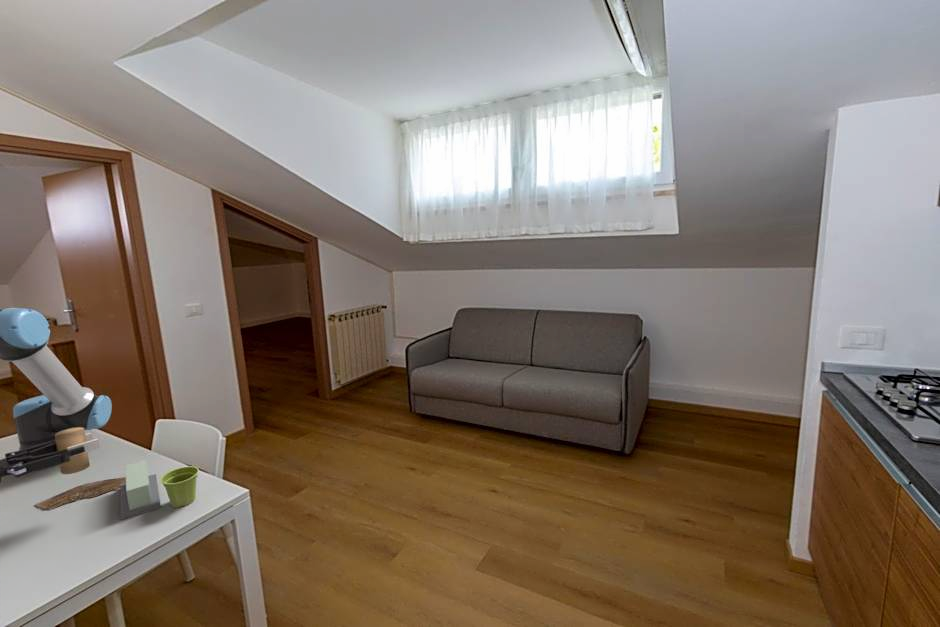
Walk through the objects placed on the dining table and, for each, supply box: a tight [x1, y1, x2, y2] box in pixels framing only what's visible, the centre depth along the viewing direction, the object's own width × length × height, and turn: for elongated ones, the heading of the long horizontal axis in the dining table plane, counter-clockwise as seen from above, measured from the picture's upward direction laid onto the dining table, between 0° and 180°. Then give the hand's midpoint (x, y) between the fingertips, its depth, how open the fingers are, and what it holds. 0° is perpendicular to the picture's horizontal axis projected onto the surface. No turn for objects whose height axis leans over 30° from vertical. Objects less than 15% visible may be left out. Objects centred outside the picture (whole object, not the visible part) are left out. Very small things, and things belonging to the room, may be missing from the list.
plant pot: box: [160, 465, 200, 508], centre depth 126 cm, size 9×9×9 cm
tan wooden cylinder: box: [55, 427, 91, 475], centre depth 120 cm, size 6×6×11 cm
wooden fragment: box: [33, 476, 126, 511], centre depth 133 cm, size 26×11×1 cm, turn 128°
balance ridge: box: [119, 459, 162, 521], centre depth 129 cm, size 20×9×8 cm, turn 39°
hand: (95, 440), depth 123 cm, fingers closed on tan wooden cylinder, 6 cm apart
